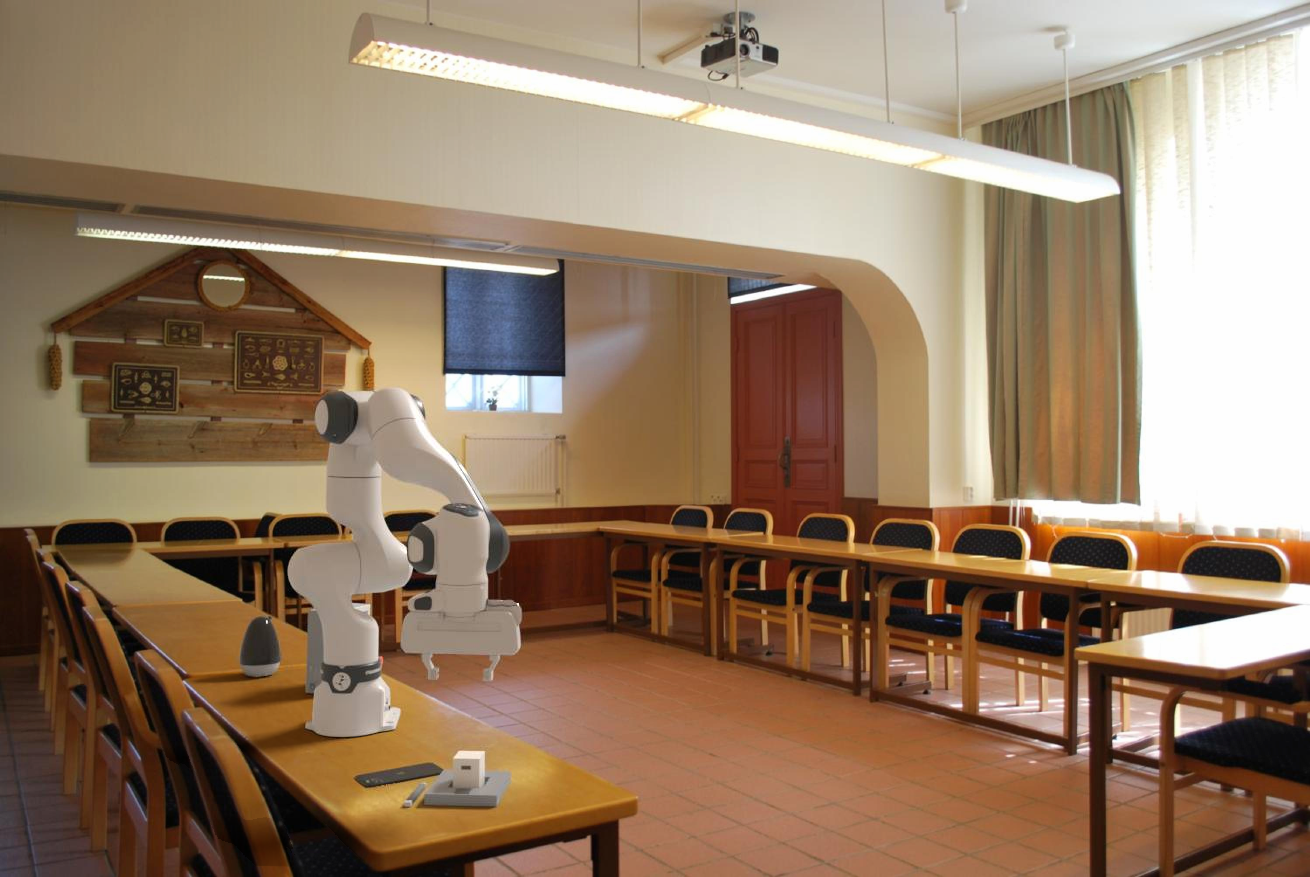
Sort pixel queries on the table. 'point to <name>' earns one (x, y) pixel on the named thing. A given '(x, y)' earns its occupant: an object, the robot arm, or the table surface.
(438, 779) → the plate
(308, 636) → the hard drive box
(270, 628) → the grey egg on base
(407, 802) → the bar
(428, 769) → the smartphone
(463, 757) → the brick
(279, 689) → the table surface
